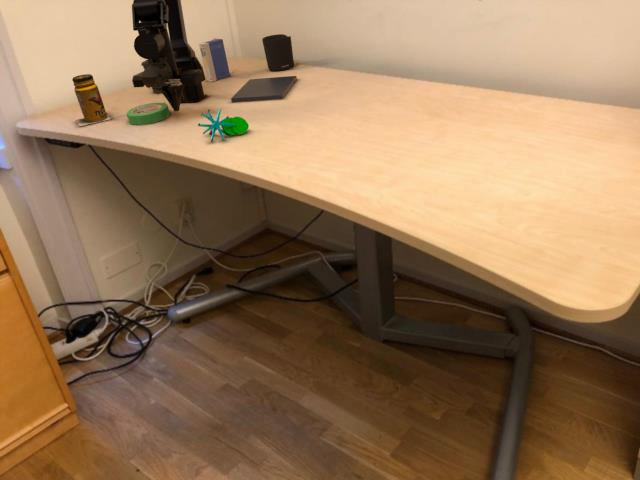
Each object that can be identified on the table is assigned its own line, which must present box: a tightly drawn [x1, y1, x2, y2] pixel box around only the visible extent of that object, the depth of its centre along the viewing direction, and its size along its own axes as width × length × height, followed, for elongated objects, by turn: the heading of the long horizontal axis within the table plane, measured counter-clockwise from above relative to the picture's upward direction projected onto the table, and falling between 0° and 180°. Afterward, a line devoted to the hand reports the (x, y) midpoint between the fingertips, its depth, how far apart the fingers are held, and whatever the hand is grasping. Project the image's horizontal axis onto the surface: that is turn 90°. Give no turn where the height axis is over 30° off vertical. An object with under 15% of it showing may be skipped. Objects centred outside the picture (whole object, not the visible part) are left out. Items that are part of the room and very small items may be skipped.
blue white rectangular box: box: [198, 37, 231, 83], centre depth 191 cm, size 8×3×12 cm, turn 141°
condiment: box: [71, 73, 112, 127], centre depth 162 cm, size 7×8×12 cm
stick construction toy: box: [197, 108, 250, 143], centre depth 141 cm, size 12×7×8 cm
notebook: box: [230, 75, 298, 103], centre depth 174 cm, size 15×21×1 cm
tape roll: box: [126, 102, 171, 126], centre depth 160 cm, size 11×11×3 cm
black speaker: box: [261, 33, 295, 72], centre depth 195 cm, size 9×9×10 cm
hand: (177, 110), depth 158 cm, fingers closed
